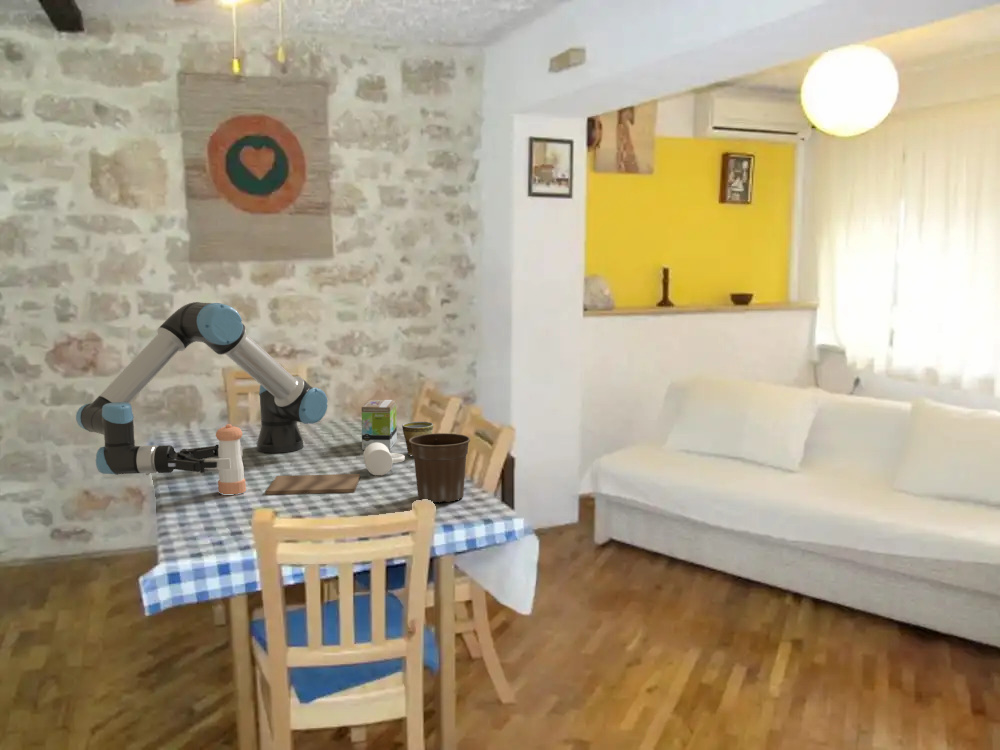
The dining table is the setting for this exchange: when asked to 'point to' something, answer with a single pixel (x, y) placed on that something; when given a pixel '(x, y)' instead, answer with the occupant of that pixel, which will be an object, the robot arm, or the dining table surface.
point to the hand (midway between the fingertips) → (236, 457)
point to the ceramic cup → (415, 431)
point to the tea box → (379, 423)
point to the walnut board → (314, 484)
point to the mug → (380, 458)
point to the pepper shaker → (231, 461)
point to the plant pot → (440, 465)
